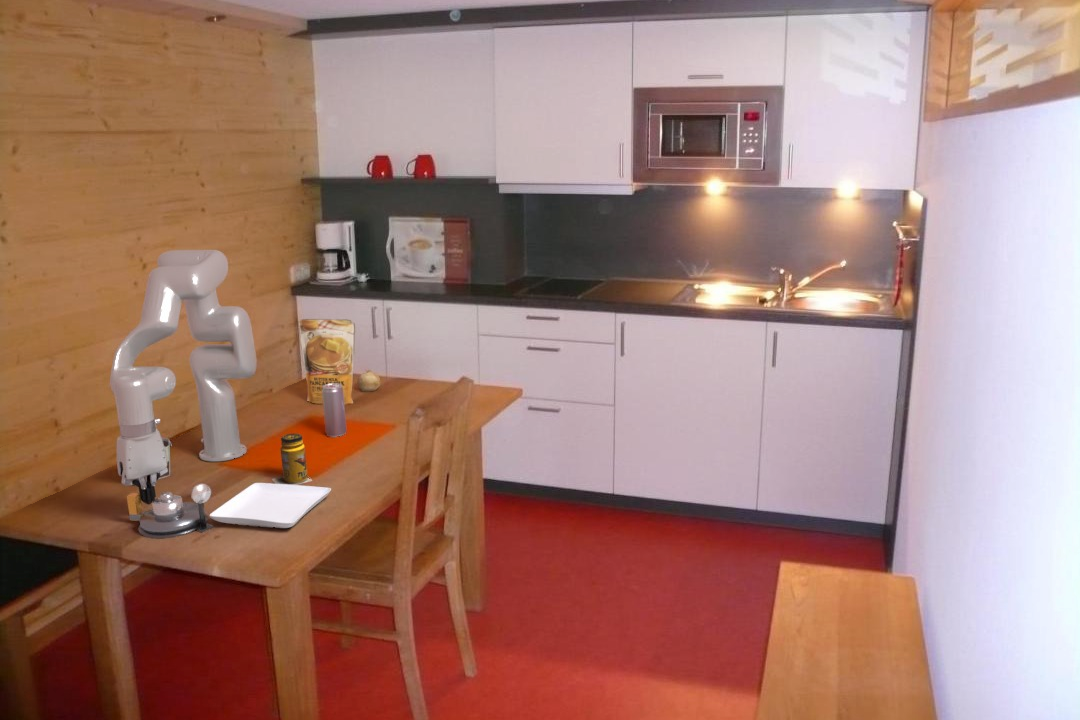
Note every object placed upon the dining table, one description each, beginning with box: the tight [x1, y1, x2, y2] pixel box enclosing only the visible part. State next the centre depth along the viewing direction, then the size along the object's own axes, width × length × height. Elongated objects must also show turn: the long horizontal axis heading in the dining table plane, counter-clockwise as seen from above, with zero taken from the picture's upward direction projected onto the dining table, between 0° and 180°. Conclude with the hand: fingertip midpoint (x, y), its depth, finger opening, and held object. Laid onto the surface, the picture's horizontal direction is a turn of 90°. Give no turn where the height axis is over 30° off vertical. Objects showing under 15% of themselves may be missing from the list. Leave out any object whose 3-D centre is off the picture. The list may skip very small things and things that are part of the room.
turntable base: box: [138, 512, 209, 539], centre depth 211 cm, size 15×15×1 cm
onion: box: [356, 369, 381, 393], centre depth 317 cm, size 8×8×7 cm
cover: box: [151, 491, 184, 523], centre depth 209 cm, size 6×6×6 cm
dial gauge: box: [190, 483, 214, 533], centre depth 207 cm, size 3×4×11 cm
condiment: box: [271, 432, 313, 485], centre depth 235 cm, size 7×8×12 cm
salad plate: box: [208, 482, 332, 529], centre depth 216 cm, size 21×21×3 cm
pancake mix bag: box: [297, 318, 356, 406], centre depth 301 cm, size 7×19×28 cm, turn 77°
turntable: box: [126, 492, 206, 535], centre depth 211 cm, size 18×14×6 cm
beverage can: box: [322, 383, 347, 438], centre depth 270 cm, size 6×6×15 cm
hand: (148, 502), depth 215 cm, fingers closed
